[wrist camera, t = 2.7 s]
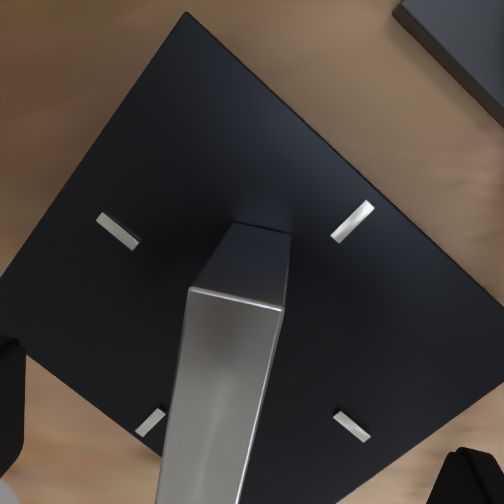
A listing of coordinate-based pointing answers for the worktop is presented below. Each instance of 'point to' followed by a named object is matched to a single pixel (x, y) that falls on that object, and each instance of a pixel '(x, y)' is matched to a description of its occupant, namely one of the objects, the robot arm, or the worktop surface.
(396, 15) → the button block
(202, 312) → the lever
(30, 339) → the tap deck
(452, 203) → the worktop surface
